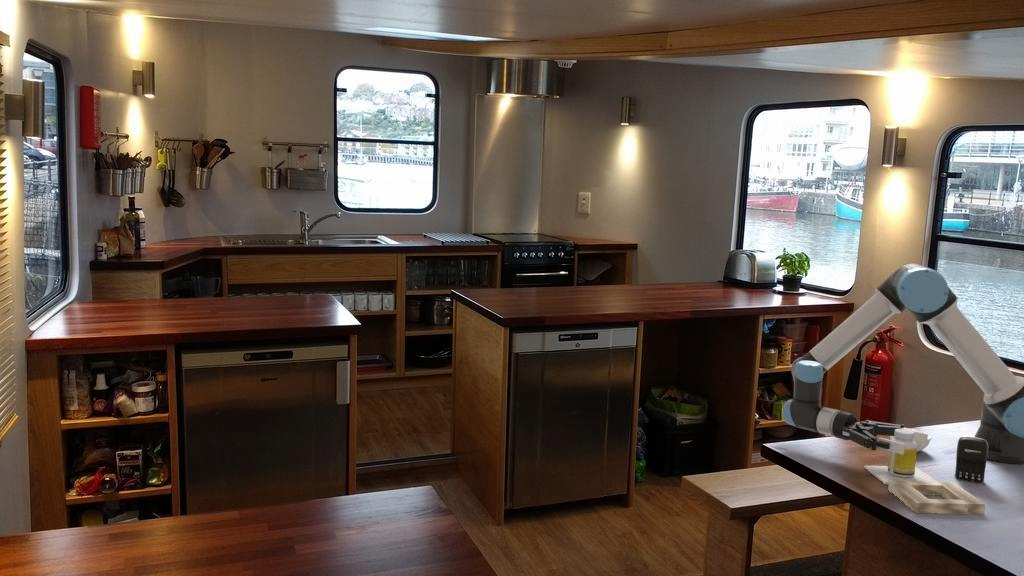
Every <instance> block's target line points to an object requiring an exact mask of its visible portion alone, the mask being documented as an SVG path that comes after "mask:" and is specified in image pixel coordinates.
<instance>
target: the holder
mask: <svg viewBox="0 0 1024 576" xmlns="http://www.w3.org/2000/svg"><path fill="white" fill-rule="evenodd" d="M887 488H888V489H887V490H889V493H891V494H892V493H893V494H894V495H893V494H892V495H893V496H895V497H896V496H897V497H898V498H899V499H900V500H899V499H898V498H897V497H896V498H897V499H898V500H899V501H900V502H902V501H903V502H904V503H905V506H906V507H908V506H909V507H910V508H911V509H910V508H909V507H908V508H909V509H910V510H911V511H912V512H914V511H915V512H916V513H915V512H914V513H915V514H935V513H937V514H939V515H940V514H941V515H943V514H945V515H946V514H948V515H985V512H986V511H985V510H986V503H984V502H982V501H981V500H980V499H978V498H976V497H975V496H974V495H972V494H971V493H969V492H968V491H967V490H965V489H963V488H962V487H961V486H960V485H958V484H956V483H955V482H954V481H937V482H927V481H889V484H888V487H887ZM923 494H935V495H934V496H941V497H943V499H942V498H941V499H940V498H937V499H936V498H935V499H934V498H928V497H926V495H923ZM903 502H902V503H903ZM904 503H903V504H904Z"/></svg>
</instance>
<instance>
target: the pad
mask: <svg viewBox="0 0 1024 576" xmlns="http://www.w3.org/2000/svg"><path fill="white" fill-rule="evenodd" d="M863 466H864V467H863V468H864V469H865V470H866V469H867V470H866V471H868V472H869V473H870V474H872V475H873V477H875V478H876V479H878V481H880V482H881V481H882V482H883V483H882V482H881V483H882V484H883V485H889V481H927V482H938V481H937V480H935V479H934V478H933V477H932V476H930V475H928V474H927V473H925V472H924V471H922V469H920V468H919V467H917V466H915V474H914V476H912V477H898V476H895V475H892V474H890V473H889V472H888V465H863Z"/></svg>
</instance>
